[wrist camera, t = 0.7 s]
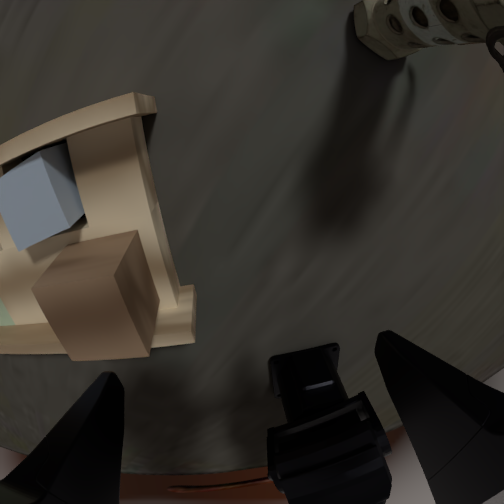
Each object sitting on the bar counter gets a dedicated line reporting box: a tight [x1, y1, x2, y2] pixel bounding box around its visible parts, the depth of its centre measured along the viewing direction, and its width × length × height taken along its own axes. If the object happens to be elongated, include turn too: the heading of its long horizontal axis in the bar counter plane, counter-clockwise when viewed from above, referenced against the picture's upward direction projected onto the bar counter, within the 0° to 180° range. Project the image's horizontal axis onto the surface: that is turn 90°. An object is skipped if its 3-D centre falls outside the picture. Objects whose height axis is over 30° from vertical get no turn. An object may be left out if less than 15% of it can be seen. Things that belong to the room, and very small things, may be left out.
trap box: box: [0, 92, 197, 354], centre depth 15 cm, size 14×22×5 cm, turn 97°
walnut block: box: [31, 230, 160, 361], centre depth 15 cm, size 5×5×5 cm
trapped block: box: [0, 142, 85, 251], centre depth 14 cm, size 4×4×4 cm
